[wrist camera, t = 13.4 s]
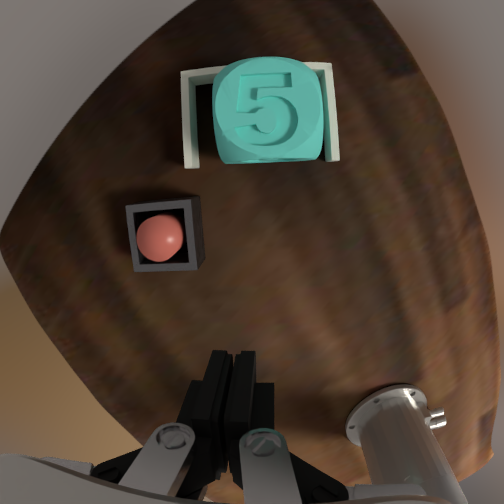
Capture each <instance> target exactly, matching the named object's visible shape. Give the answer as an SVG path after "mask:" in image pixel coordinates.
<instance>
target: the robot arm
mask: <svg viewBox="0 0 504 504" xmlns="http://www.w3.org/2000/svg"><path fill="white" fill-rule="evenodd" d="M443 414H444V409H443V407H439V408H436V409H433V410H429V409H427V400H426V397H425V395H424V393H423V392H422V391H421V390H420V389H419V388H418V387H415V386H413V385H408V384H401V385H394V386H390V387H387V388H384V389H381V390H379V391H377V392H375V393H373V394H371V395H370V396H368V397H366V398H365V399H364V400H362V401H361V402H360V403H359V404H358V405H357V406H356V407H355V408H354V409H353V410H352V412H351V413H350V414H349V416H348V418H347V421H346V424H345V430H346V434H347V437H348V439H349V440H350V441H351V442H352V443H353V444H355V445H357V446H361V447H362V450H363V453H364V457H365V460H366V464H367V467H368V471H369V474H370V478H371V482H372V485H368V484H355V487H348V486H344V485H343V484H342V483H340V482H339V481H337V480H335V479H334V478H332V477H330V476H328V475H327V474H325V473H323V472H321V471H320V470H318V469H316V468H315V467H313V466H311V465H310V464H308V463H306V462H305V461H303V460H302V459H300V458H299V457H297V456H295V455H294V454H292V453H291V452H289V451H288V447H287V443H286V440H285V438H284V436H283V435H282V434H281V433H279V432H277V431H275V430H274V383H256V353H255V351H241V354H236V357H235V362H234V367H233V357H232V354H228V353H227V351H223V350H213V351H212V354H211V357H210V360H209V363H208V366H207V369H206V372H205V376H204V379H203V381H197V380H193V381H191V383H190V386H189V389H188V391H187V394H186V397H185V399H184V402H183V405H182V407H181V410H180V413H179V415H178V418H177V421H176V423H167V424H164V425H161V426H160V427H158V428H157V429H156V430H155V431H154V432H153V433H152V435H151V436H150V438H149V439H148V441H147V442H146V444H145V445H144V447H142V448H140V449H137V450H135V451H132V452H129V453H127V454H125V455H122V456H119V457H116V458H114V459H111V460H108V461H105V462H103V463H100V464H98V465H97V466H93V464H92V463H87V462H79V461H71V460H65V459H59V458H53V457H43V458H36V457H31V456H27V455H20V454H1V455H0V504H228V503H216V502H206V501H203V499H204V496H205V494H206V491H207V487H208V486H207V484H209V483H211V482H213V481H215V479H217V480H220V476H221V472H223V473H226V471H227V466H228V461H229V468H230V473H232V476H233V482H234V483H236V484H237V485H238V486H239V487H240V488H241V489H243V491H244V501H245V504H469V503H468V501H467V499H466V498H465V496H464V494H463V492H462V490H461V488H460V486H459V484H458V482H457V479H456V477H455V476H454V474H453V472H452V469H451V467H450V465H449V463H448V461H447V459H446V457H445V455H444V453H443V451H442V450H441V448H440V446H439V444H438V442H437V440H436V438H435V436H434V434H433V432H432V429H437V428H440V427H443V426H445V425H446V418H445V416H444V415H443ZM433 417H434V418H433ZM431 418H432V419H431Z"/></svg>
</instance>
